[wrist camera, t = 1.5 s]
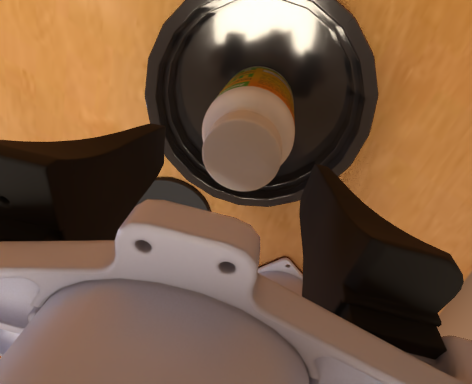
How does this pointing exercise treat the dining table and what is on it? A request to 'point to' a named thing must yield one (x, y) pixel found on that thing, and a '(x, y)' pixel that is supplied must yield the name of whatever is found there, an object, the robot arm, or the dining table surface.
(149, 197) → the coaster
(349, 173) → the dining table surface
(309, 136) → the pan
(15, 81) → the dining table surface
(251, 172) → the supplement bottle
